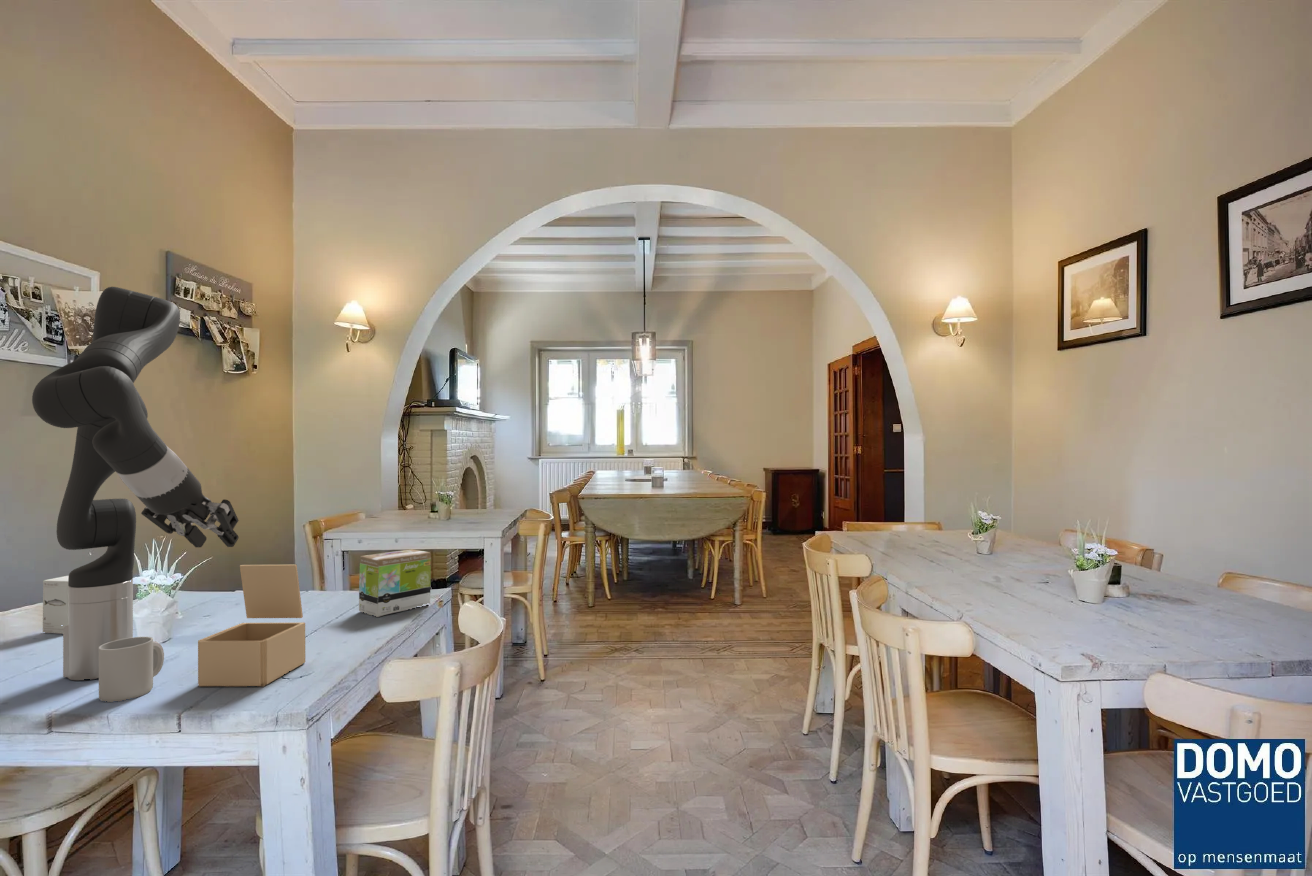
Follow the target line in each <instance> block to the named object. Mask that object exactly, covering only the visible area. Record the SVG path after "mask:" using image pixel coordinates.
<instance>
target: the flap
mask: <svg viewBox="0 0 1312 876" xmlns="http://www.w3.org/2000/svg"><path fill="white" fill-rule="evenodd" d="M239 569H240V571H239V572H240V577H241V586H242V592H243V600H244V601H243V602H244V609H245V615H246V619H302V618H304V615H303V614H304V613H303V606H302V597H301V590H300V583H299V581H300V580H299V572H298V565H297V564H293V563H292V564H289V563H288V564H240V565H239Z"/></svg>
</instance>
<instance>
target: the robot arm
mask: <svg viewBox="0 0 1312 876" xmlns="http://www.w3.org/2000/svg"><path fill="white" fill-rule="evenodd" d="M95 307H96V308H95V313H94V319H93V320H94V321H93V333H92V341H91V343H89V344H88V345H87V346H86V347H85V349H84V350H82V352H81V353H80V354H79V355H78V356H77V357H76V359H75V360H73V361H72V362H69V363H67V364H64V365H63V366H61V367H59V368H58V369H56V370H54V371H52V372H50V373H49V374H47V375H46V376H45V377H43V378H42V379H40V380H39V381H38V383H37V384H36V385H35V387H34V389H33V392H32V396H31V403H32V407H33V409H34V412H35V414H36V415H37V416H38V417H39V418H40V419H41V420H42V421H44V422H45V423H46V424H48V425H51V426H53V427H56V428H61V429H62V428H63V429H73V428H74V429H75V428H76V436H75V446H74V453H73V458H72V464H71V470H70V474H69V477H68V481H67V485H66V488H65V491H64V496H63V499H62V502H61V505H60V508H59V513H58V516H57V523H56V532H55V533H56V537H57V538H56V540H57V542H58V544H59V545H60V547H61V548H63V549H65V550H69V551H70V550H71V551H72V550H73V551H75V550H78V551H79V550H88V549H89V550H90V549H97V548H98V549H99V548H106V547H107V549H106V550H105V552H104V554H102V555H101V556H100V557H98V558H96V559H95V560H93V561H91V562H89V563H86V564H84V565H81V566H78V567H77V568H74V569H73V570H71V571H70V572H69V574H68V576H69V578H68V586H69V588H68V602H69V625H67V626H65V627H64V628H63V635H62V636H63V637H62V640H63V641H62V648H63V649H62V650H63V651H62V677H63V678H67V679H68V680H71V681H85V680H84V679H90V680H95V679H99V647H100V646H101V645H103V644H106V643H109V642H112V641H116V640H121V639H126V638H133V637H134V579H133V578H134V567H135V566H134V565H135V564H134V563H135V543H136V530H137V529H136V528H137V513H136V509H135V508H136V507H135V505H134V504H133V502H132V501H131V500H129V499H127V498H105V499H103V498H102V499H94V498H95V497H96V494H97V493H98V491H99V489H100V488H101V487H102V485H103V484H104V483H105V482H106V480H108V479H109V478H110V477H111V476H112V475H113V474H114V473H115V472H116V474H117V475H118V477H119V478H120V479H121V481H122V483H123V484H124V485H125V486H126V487H127V488H128V489H129V490H130V492H132V493H133V494H134V495H135V496H136V498H138V500H139V501H140V502H142V504H144V508H143V509H142V511H141V513H140V514H141V515H142V516H143V517H145V518H146V519H148V520H149V521H150V522H152V523H153V524H154V525H156V526H157V527H158V528H160V529H161V530H162V531H164V532H165V533H167V534H169V535H171V534H173V533H174V532H175V533H176V534H177V535H179V536H183V537H184V538H185V539H186V540H187V541H188V542H189V543H190V544H191V545H193V546H194V547H195V548H202V547H203V546H204V544H205V543H206V541H207V536H206V535H205V534H204V533H203V532H202V530H201V529H199V527H200V528H202V529H203V530H208V529H209V530H210V531H211V532H213V533H215V535H216V536H217V537H218V538H219V539H220V541H222V543H223V544H224V545H225V547H226V548H233V547H234V546H235V545H236V544H237V542H238V539H239V535H238V533H236V531H235V530H234V529H235V527H236V526H237V524H238V523H239V521H240V520H239V518H238V516H237V514H236V512H235V510H234V508H233V505H232V502H231V501H230V500H228V499H222V500H221V502H214V501H213V502H212V500H211V499H210V498H208V497H207V496H205V495H204V494H203V492H202V491H203V490H202V483H201V481H199V480H198V478H197V477H196V476H195V474H194V473H193V472H192V471H191V470H190V469H189V468H188V467H187V465H186V464H185V462H183V460H182V459H181V458H180V457H179V455H177V454H176V452H175V451H173V450H172V449H171V448H170V447H169V446H167V444H166V443H165V442H164V441H163V439H162V438H161V437H160V436H159V435H158V434H157V432H156V431H155V430H154V429H153V427H152V426H151V423H150V422H149V420H148V417H149V415H148V410H147V407H146V404H145V401H144V400H143V398H142V396H141V395H140V393H139V391H138V390H137V388H136V386H135V384H134V383H135V382H136V381H137V378H138V377H139V375H140V373H141V372H142V370H143V369H144V368H145V367H146V366H147V365H148V364H149V363H151V362H152V361H153V360H155V359H156V358H157V357H159V356H161V355H162V354H163V353H165V351H167V350H168V349H169V348H170V347H171V345H173V344H174V341H175V339H176V337H177V335H178V332H179V327H180V322H181V313H180V309H179V307H178V306H177V304H175V303H174V302H171V301H169V300H168V299H167V300H166V299H163V298H161V297H157V296H156V297H155V296H153V295H150V294H145V293H142V292H139V291H134V290H131V289H126V288H122V287H117V286H108V287H107V288H105V289H104V290H102V292H101V293H100V296H99V298H98V301H97V304H96V306H95ZM207 518H208V519H207ZM166 520H168V521H169V524H167V523H166ZM216 522H217V523H219V525H216ZM193 524H196V525H193ZM130 580H131V582H130Z"/></svg>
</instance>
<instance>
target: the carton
mask: <svg viewBox="0 0 1312 876" xmlns="http://www.w3.org/2000/svg"><path fill="white" fill-rule="evenodd" d="M303 663H304V664H305V663H306V622H298V621H297V622H241V623H239V624H236V625H234V626H231V627H228V628H226V629H223V630H221V631H218V632H216V633H214V634H210V635H209V636H205V637H204V638H203V637H202V638H201V639H199V640H198V641H197V684H198V687H200V688H202V687H204V688H205V687H210V688H211V687H212V688H213V687H219V688H220V687H223V688H224V687H235V688H236V687H237V688H238V687H243V688H244V687H245V688H246V687H247V686H257V688H259V687H261V688H263V687H266V686H267V685H269V684H271V683H272V682H274V681H276V680H278V679H279V678H281V677H282V676H284V674H285V675H286V674H288V673H290V672H291V671H293V670H295V669H297V668H299V667H300V666H301V665H303ZM289 671H290V672H289Z"/></svg>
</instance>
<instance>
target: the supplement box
mask: <svg viewBox="0 0 1312 876" xmlns="http://www.w3.org/2000/svg"><path fill="white" fill-rule="evenodd" d="M68 578H69V575H65V576H59V577H54V578H49V579H44V580H43V581H42V633H43V632H45V633H44V634H63V628H64V627H65V626H67V625H69V602H68V588H69V586H68ZM61 625H63V626H61Z"/></svg>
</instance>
